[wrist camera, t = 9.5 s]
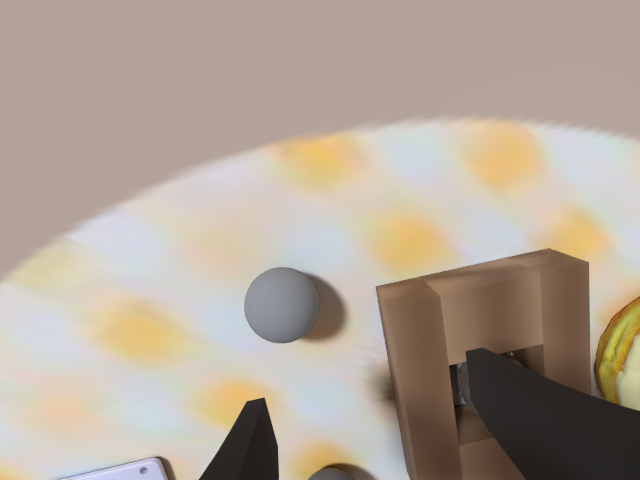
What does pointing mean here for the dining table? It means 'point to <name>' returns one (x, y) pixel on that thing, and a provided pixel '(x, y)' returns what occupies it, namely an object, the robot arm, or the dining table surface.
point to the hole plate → (479, 332)
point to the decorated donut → (621, 358)
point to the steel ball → (464, 381)
